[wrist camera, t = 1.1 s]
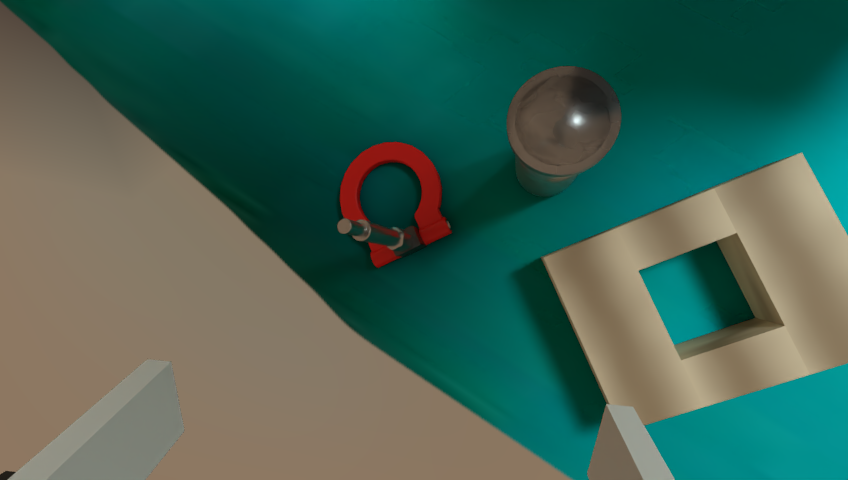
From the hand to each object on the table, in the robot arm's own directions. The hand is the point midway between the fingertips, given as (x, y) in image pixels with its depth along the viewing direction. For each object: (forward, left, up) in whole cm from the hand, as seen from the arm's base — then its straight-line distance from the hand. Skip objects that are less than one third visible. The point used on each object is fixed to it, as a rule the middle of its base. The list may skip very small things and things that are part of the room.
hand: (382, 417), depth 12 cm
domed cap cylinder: (-10, -8, -19) cm, 23 cm away
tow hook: (+2, -11, -19) cm, 22 cm away
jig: (-15, +4, -19) cm, 25 cm away
